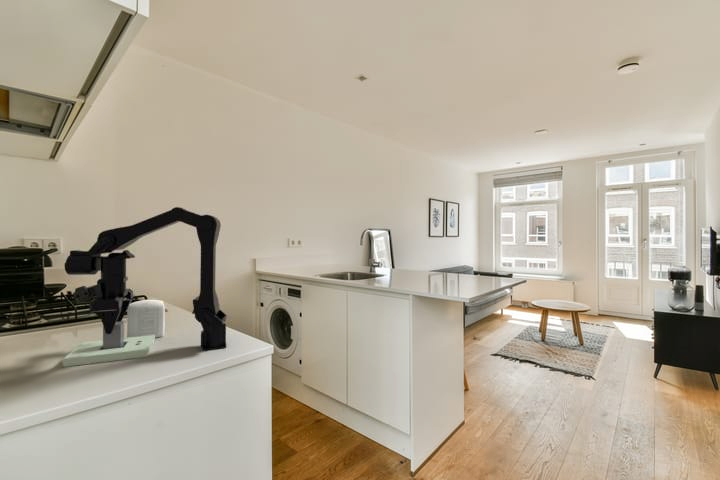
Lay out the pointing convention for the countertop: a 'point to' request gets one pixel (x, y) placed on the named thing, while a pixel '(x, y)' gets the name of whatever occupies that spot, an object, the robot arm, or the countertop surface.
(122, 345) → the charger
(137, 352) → the outlet plate
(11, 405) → the countertop surface
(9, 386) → the countertop surface
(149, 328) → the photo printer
